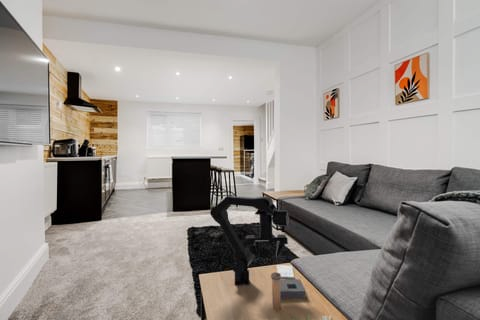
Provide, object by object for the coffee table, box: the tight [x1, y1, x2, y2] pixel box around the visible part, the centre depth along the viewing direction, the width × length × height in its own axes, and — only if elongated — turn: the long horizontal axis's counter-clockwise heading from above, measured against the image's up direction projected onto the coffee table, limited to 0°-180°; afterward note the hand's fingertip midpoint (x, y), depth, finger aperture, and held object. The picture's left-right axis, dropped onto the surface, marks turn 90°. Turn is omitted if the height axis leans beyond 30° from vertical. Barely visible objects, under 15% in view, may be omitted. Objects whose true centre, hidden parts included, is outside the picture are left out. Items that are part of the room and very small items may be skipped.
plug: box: [270, 271, 282, 311], centre depth 95 cm, size 4×4×13 cm
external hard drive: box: [276, 264, 295, 280], centre depth 124 cm, size 2×8×12 cm
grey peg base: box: [280, 278, 307, 300], centre depth 106 cm, size 12×10×3 cm
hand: (266, 258), depth 111 cm, fingers open, 9 cm apart
